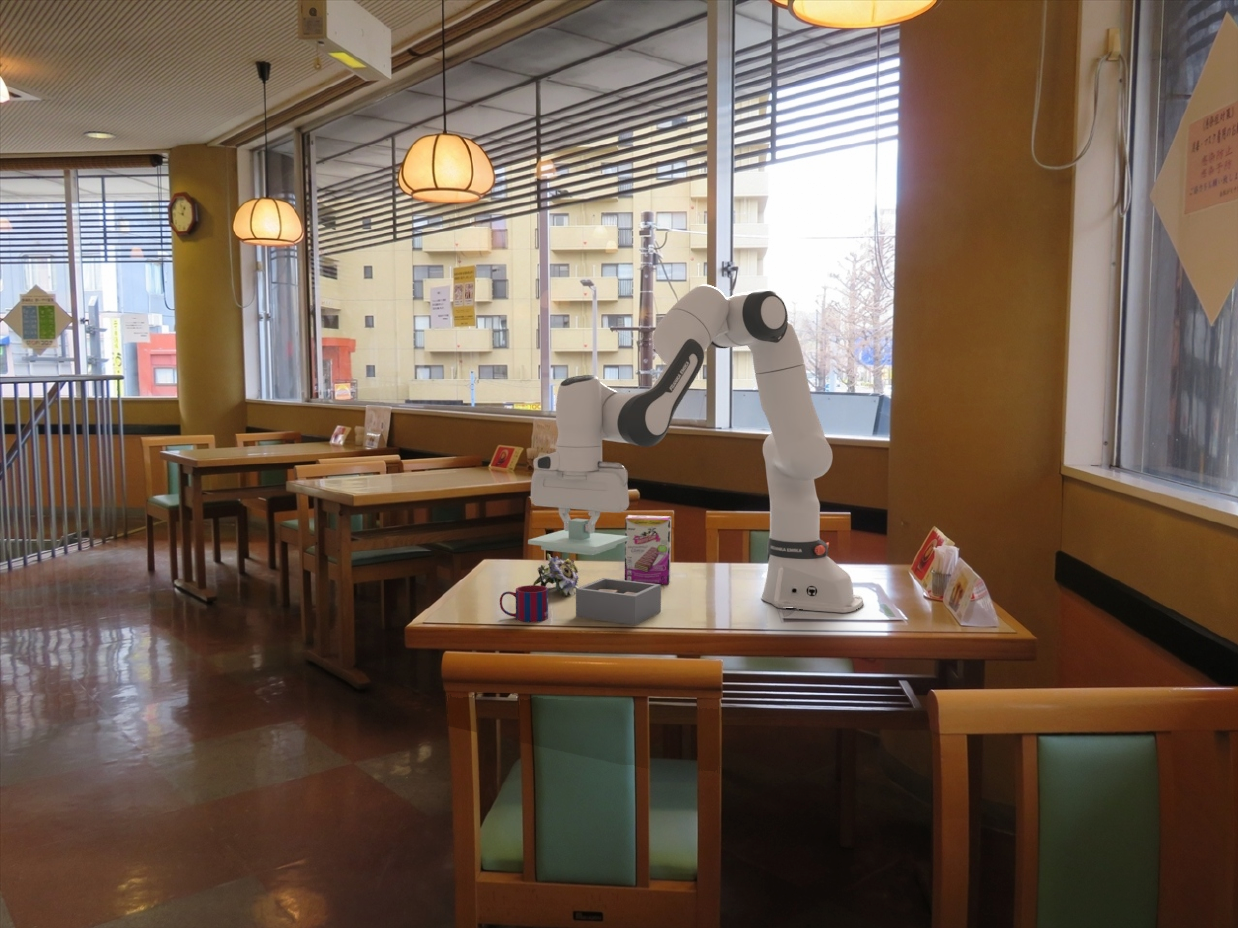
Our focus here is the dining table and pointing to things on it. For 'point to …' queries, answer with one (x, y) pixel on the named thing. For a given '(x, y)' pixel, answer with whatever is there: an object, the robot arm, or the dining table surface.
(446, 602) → the dining table surface
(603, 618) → the box
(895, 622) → the dining table surface
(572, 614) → the dining table surface
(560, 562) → the passion flower
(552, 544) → the lid
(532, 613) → the mug
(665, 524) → the candy bar box
